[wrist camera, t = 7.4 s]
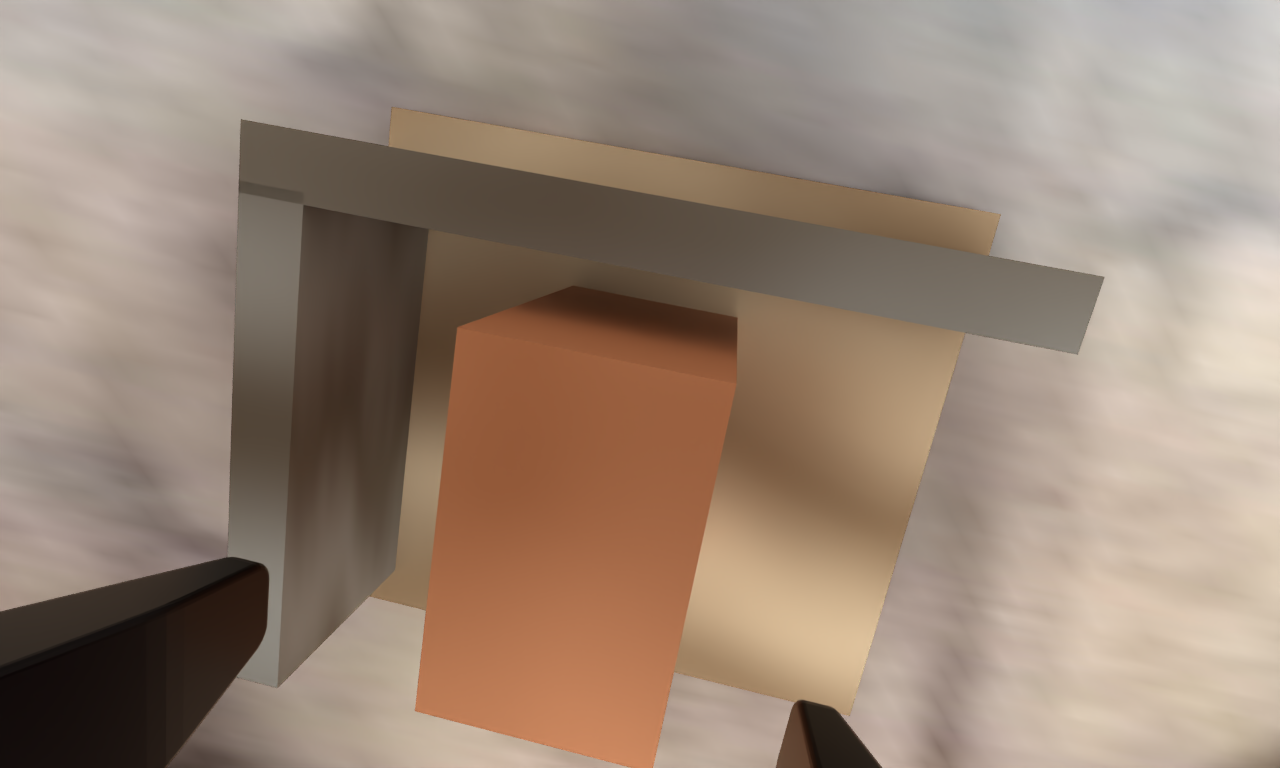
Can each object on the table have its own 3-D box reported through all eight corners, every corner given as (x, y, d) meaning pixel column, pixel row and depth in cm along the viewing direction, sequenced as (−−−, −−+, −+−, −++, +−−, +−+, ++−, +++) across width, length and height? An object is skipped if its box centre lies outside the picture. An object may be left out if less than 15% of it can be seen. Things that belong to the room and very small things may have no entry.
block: (737, 317, 16) (736, 384, 9) (684, 563, 18) (651, 772, 11) (573, 285, 16) (457, 326, 10) (536, 529, 18) (415, 711, 11)
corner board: (842, 686, 19) (890, 895, 13) (373, 571, 20) (223, 713, 14) (981, 215, 16) (1128, 208, 10) (415, 114, 17) (242, 55, 11)
